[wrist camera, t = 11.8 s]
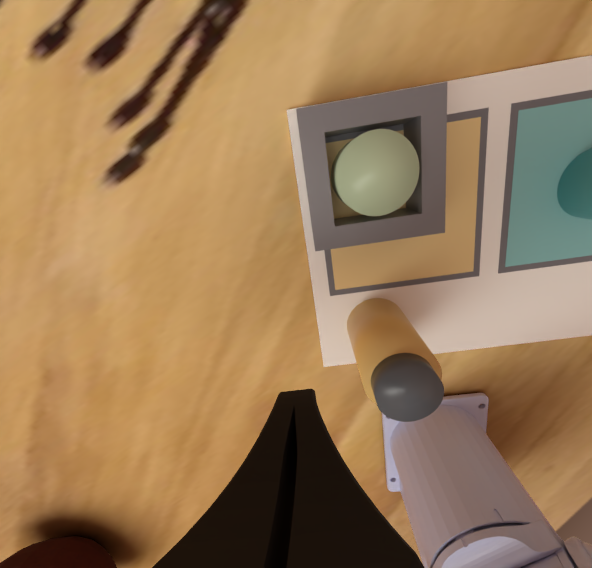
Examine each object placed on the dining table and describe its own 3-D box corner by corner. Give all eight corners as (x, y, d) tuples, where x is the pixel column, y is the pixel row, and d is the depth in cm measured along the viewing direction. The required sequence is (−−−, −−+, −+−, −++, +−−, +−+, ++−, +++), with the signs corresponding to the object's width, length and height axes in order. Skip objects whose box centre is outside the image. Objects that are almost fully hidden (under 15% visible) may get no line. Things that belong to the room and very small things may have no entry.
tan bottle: (405, 345, 22) (451, 423, 15) (349, 352, 22) (370, 431, 15) (403, 294, 20) (454, 355, 14) (344, 302, 21) (364, 365, 14)
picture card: (665, 324, 21) (671, 326, 21) (323, 364, 23) (323, 367, 22) (754, 27, 15) (763, 24, 15) (286, 110, 17) (286, 109, 17)
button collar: (423, 223, 19) (445, 232, 16) (313, 240, 20) (315, 251, 17) (422, 97, 17) (447, 81, 14) (297, 119, 17) (296, 108, 14)
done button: (400, 203, 18) (420, 209, 15) (334, 213, 19) (340, 221, 16) (398, 131, 17) (418, 121, 14) (326, 143, 17) (332, 136, 14)
